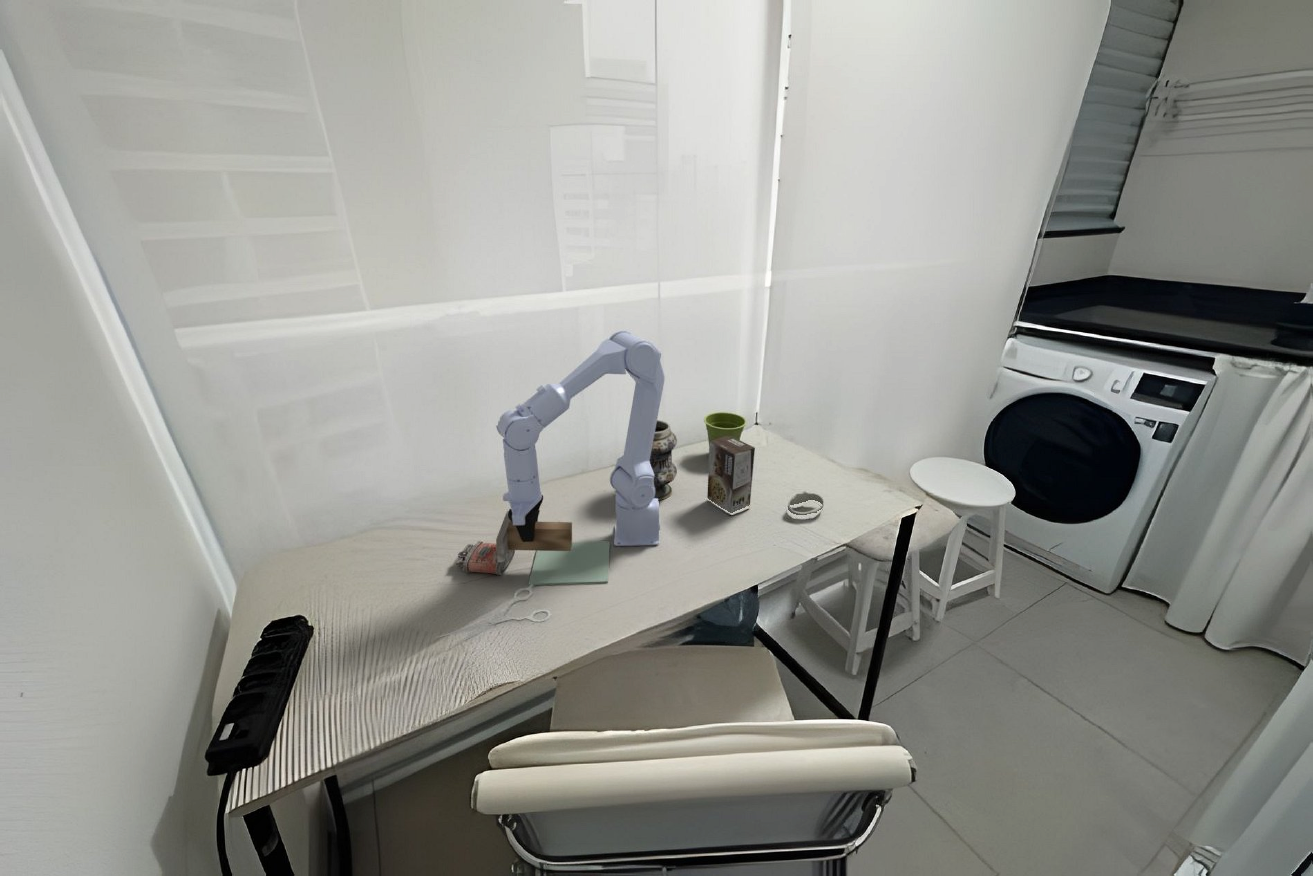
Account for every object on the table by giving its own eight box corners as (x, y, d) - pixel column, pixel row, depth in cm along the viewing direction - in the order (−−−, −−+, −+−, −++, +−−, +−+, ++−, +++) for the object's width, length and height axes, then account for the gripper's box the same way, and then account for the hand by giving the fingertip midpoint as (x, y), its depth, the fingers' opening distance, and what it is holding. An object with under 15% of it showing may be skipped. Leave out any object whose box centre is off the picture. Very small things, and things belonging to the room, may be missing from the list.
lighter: (498, 565, 102) (449, 561, 103) (501, 579, 103) (451, 575, 104) (514, 540, 109) (467, 536, 110) (516, 553, 110) (469, 549, 111)
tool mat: (609, 542, 114) (609, 541, 114) (607, 583, 102) (607, 581, 102) (539, 544, 113) (538, 543, 113) (528, 585, 101) (528, 583, 101)
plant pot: (700, 464, 148) (702, 426, 143) (704, 446, 158) (705, 410, 154) (743, 467, 146) (746, 429, 141) (744, 449, 157) (747, 413, 152)
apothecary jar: (674, 479, 140) (676, 415, 132) (678, 503, 129) (679, 435, 121) (628, 480, 139) (627, 416, 132) (627, 504, 128) (626, 436, 121)
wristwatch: (812, 503, 129) (815, 485, 127) (829, 516, 124) (832, 498, 122) (780, 510, 126) (782, 492, 124) (796, 524, 121) (798, 505, 119)
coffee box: (751, 508, 127) (756, 447, 120) (730, 517, 123) (735, 454, 117) (725, 492, 134) (729, 433, 127) (705, 500, 130) (708, 440, 124)
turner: (573, 532, 110) (573, 512, 107) (569, 563, 100) (568, 541, 98) (508, 531, 109) (507, 510, 107) (497, 562, 100) (495, 539, 97)
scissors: (561, 612, 95) (446, 665, 84) (561, 615, 95) (447, 669, 84) (535, 580, 102) (427, 625, 91) (535, 584, 103) (427, 628, 92)
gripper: (508, 457, 104) (515, 516, 110) (491, 494, 91) (500, 559, 97) (544, 456, 105) (550, 515, 110) (533, 494, 91) (539, 558, 97)
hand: (529, 536), depth 103 cm, fingers closed on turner, 2 cm apart
